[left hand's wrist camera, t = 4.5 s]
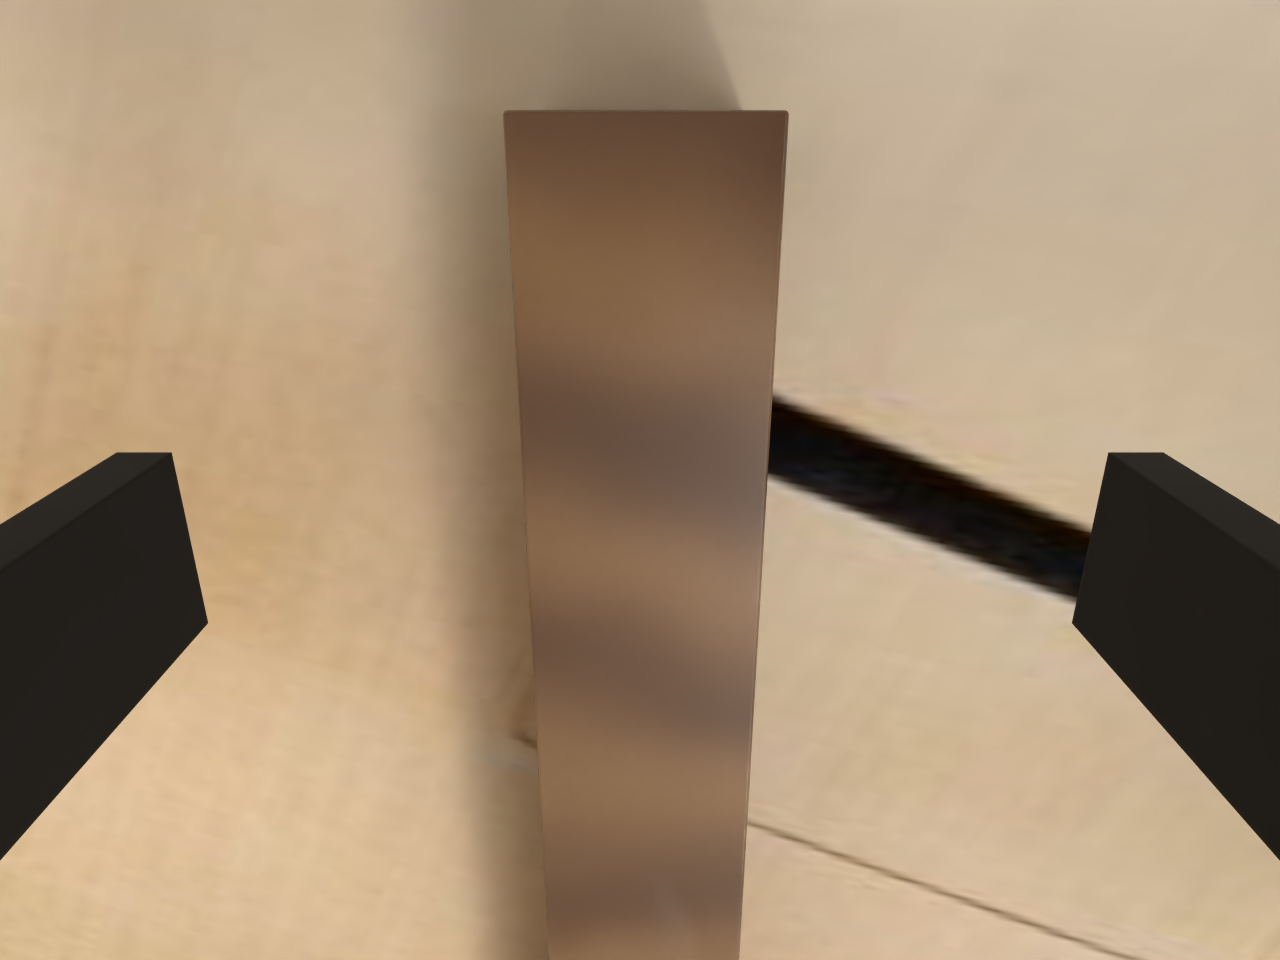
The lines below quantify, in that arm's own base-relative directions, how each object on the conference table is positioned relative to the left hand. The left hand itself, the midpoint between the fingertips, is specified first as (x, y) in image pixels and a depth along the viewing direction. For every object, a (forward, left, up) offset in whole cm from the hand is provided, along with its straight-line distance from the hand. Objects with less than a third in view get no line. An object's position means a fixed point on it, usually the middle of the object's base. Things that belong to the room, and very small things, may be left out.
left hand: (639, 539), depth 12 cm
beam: (+14, +24, -15) cm, 31 cm away
